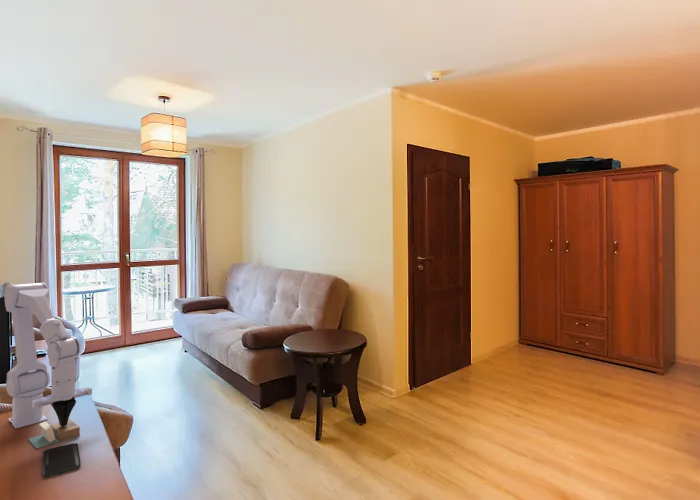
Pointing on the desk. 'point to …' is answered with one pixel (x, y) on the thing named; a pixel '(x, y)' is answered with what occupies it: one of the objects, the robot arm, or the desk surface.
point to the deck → (66, 430)
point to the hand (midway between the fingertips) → (63, 424)
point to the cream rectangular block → (47, 431)
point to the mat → (41, 441)
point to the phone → (60, 460)
